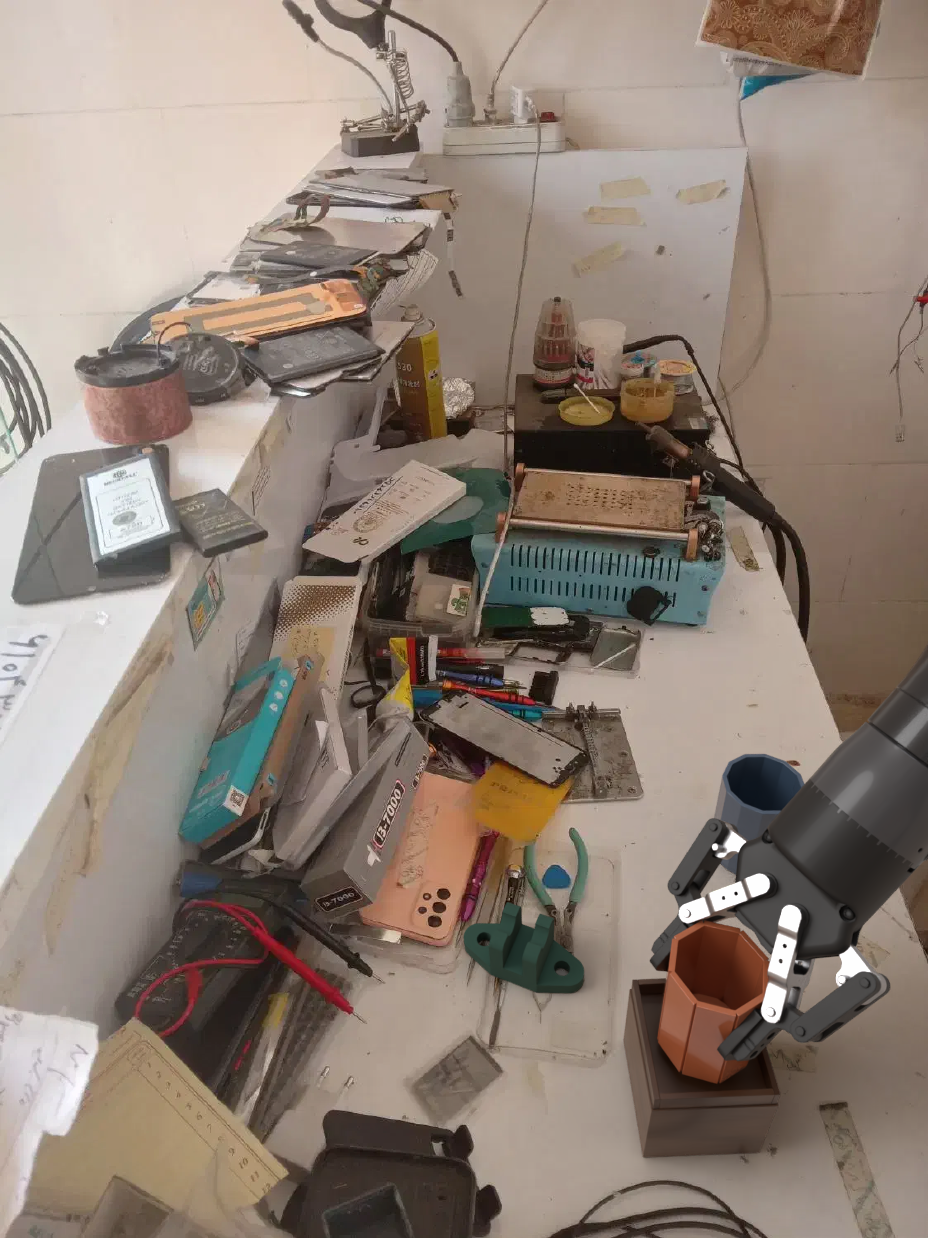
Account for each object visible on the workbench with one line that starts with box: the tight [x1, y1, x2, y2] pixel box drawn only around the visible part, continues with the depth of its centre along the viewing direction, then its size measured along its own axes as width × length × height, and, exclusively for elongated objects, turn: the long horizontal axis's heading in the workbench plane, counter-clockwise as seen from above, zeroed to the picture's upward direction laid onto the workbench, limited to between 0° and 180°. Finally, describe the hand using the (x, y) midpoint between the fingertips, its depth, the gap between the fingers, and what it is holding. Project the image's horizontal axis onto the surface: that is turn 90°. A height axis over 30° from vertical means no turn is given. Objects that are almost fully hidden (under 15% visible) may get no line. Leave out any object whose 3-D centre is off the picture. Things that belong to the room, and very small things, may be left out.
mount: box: [463, 901, 585, 994], centre depth 70 cm, size 11×4×5 cm, turn 66°
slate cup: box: [713, 753, 805, 875], centre depth 77 cm, size 7×7×10 cm
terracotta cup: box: [657, 920, 770, 1084], centre depth 54 cm, size 6×6×9 cm
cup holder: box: [623, 977, 781, 1158], centre depth 60 cm, size 8×8×10 cm
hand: (692, 1009), depth 53 cm, fingers closed on terracotta cup, 6 cm apart
